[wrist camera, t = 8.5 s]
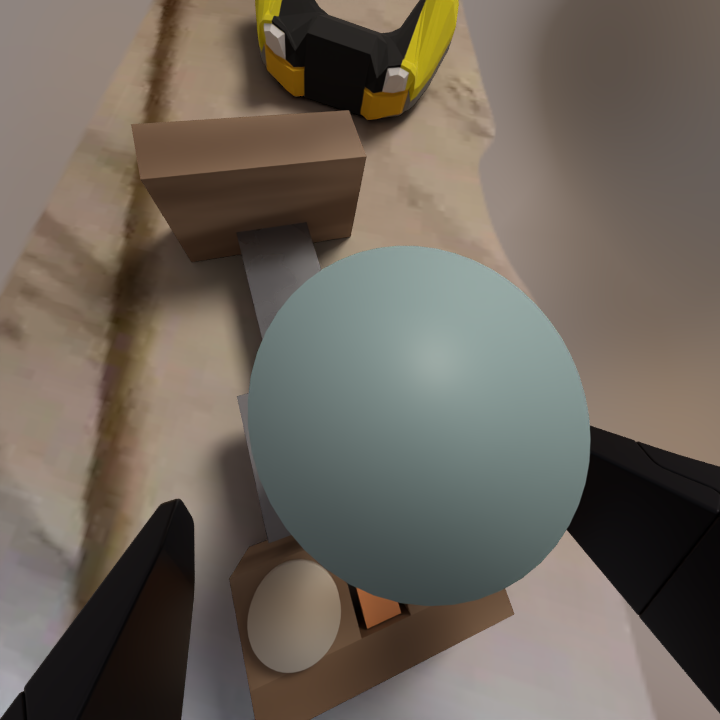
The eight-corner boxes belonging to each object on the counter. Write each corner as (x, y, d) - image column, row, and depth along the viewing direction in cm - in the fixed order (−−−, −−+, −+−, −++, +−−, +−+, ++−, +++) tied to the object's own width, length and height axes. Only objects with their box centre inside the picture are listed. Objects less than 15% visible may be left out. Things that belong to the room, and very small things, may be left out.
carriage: (419, 481, 15) (869, 600, 3) (272, 535, 13) (-42, 1263, 1) (380, 363, 16) (583, 120, 4) (242, 400, 15) (-48, 175, 3)
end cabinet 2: (466, 576, 16) (522, 620, 12) (272, 665, 14) (257, 759, 10) (433, 478, 17) (473, 487, 13) (248, 547, 15) (225, 584, 11)
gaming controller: (271, 6, 26) (232, 84, 23) (262, -105, 21) (210, -22, 18) (440, 64, 28) (423, 145, 25) (470, -26, 22) (454, 63, 19)
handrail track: (407, 578, 16) (421, 596, 14) (331, 612, 15) (334, 636, 13) (298, 218, 21) (297, 194, 19) (236, 226, 20) (229, 203, 18)
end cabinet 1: (350, 236, 21) (366, 156, 15) (191, 262, 19) (140, 179, 13) (338, 199, 22) (349, 110, 16) (183, 220, 19) (131, 124, 14)
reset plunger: (392, 597, 13) (401, 613, 12) (361, 610, 13) (367, 628, 12) (364, 501, 14) (370, 506, 13) (335, 512, 14) (338, 518, 13)
